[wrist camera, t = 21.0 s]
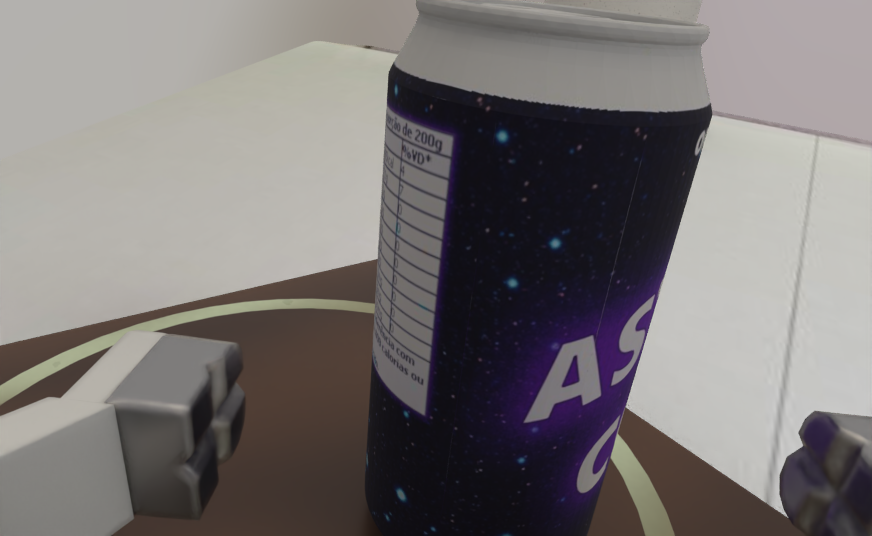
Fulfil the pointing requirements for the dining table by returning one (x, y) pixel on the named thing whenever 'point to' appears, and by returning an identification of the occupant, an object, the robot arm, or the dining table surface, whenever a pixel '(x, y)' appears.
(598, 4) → the vase
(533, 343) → the beverage can
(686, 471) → the brown flat square board
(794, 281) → the dining table surface
